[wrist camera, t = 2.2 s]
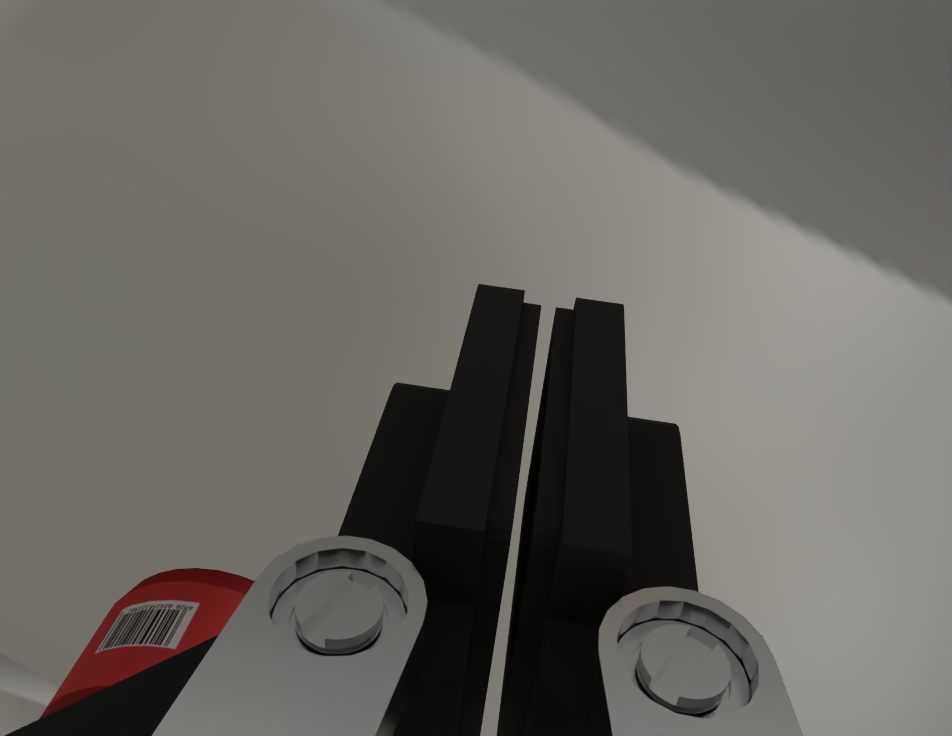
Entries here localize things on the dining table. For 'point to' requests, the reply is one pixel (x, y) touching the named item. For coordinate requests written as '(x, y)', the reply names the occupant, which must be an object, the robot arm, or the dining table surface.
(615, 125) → the dining table surface
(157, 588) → the canned food
